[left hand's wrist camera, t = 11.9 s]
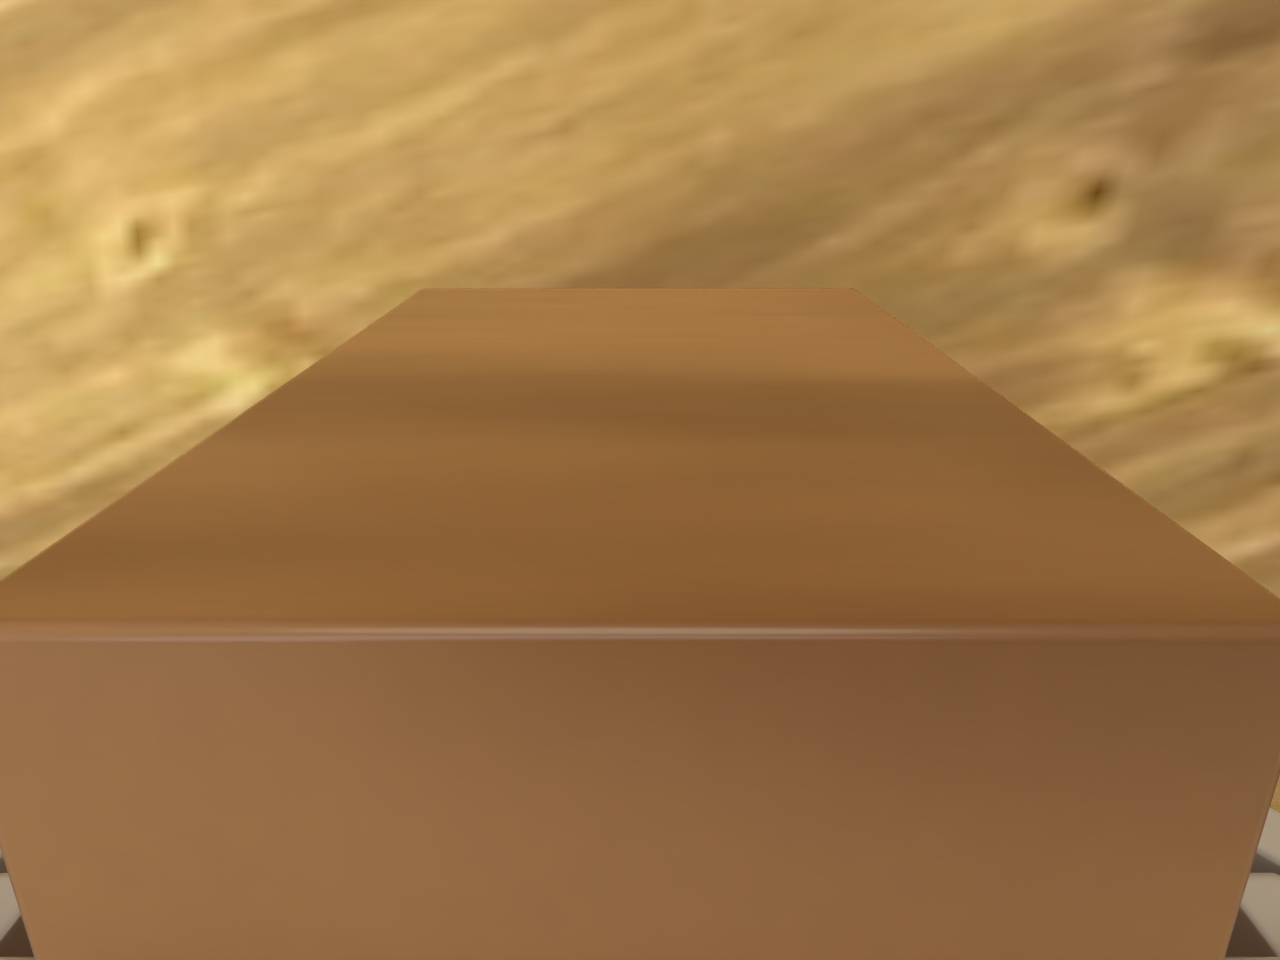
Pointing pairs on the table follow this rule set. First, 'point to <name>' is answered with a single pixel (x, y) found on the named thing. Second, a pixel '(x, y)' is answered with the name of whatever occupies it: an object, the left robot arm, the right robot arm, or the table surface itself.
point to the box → (634, 662)
